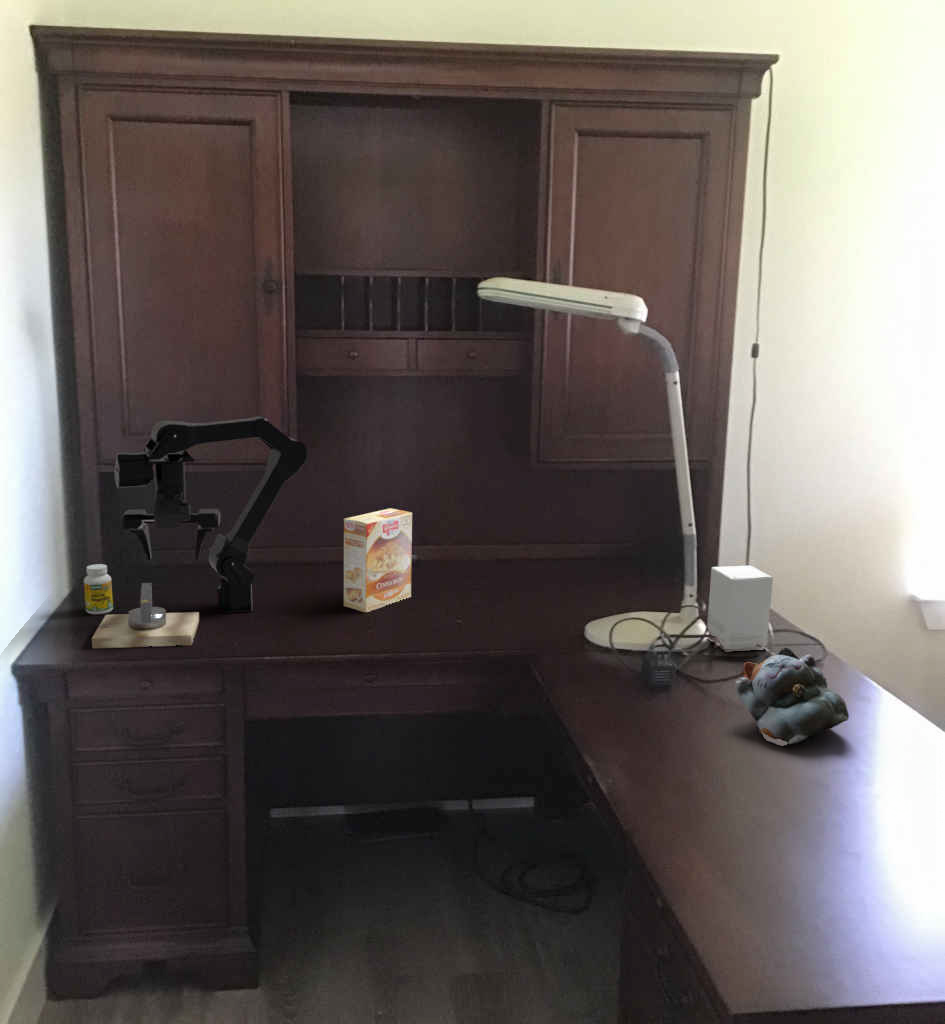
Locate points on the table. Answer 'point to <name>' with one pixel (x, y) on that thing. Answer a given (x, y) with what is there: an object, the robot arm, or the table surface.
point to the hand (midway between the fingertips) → (173, 559)
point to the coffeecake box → (377, 559)
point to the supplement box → (739, 606)
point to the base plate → (146, 632)
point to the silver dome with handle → (146, 612)
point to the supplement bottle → (98, 590)
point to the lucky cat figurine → (789, 697)
